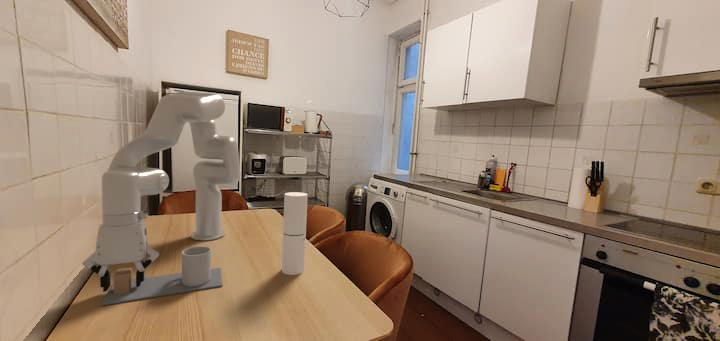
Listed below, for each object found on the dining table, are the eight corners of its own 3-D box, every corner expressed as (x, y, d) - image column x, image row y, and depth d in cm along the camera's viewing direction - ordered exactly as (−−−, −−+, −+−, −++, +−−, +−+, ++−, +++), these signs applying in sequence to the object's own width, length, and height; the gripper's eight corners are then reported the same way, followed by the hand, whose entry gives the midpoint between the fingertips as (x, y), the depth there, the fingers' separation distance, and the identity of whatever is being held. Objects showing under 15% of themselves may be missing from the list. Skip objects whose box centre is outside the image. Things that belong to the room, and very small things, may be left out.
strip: (115, 283, 79) (114, 264, 79) (220, 268, 91) (220, 252, 91) (101, 305, 69) (100, 283, 68) (222, 286, 81) (222, 267, 80)
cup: (188, 290, 77) (188, 257, 76) (172, 278, 83) (172, 248, 82) (215, 280, 83) (216, 250, 82) (199, 270, 89) (199, 242, 88)
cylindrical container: (277, 269, 94) (280, 193, 91) (295, 263, 99) (298, 191, 97) (289, 277, 89) (293, 197, 87) (308, 270, 94) (312, 194, 92)
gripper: (164, 213, 81) (164, 275, 82) (82, 217, 73) (84, 286, 74) (161, 220, 74) (161, 287, 76) (70, 225, 66) (72, 300, 68)
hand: (123, 286), depth 75 cm, fingers open, 6 cm apart
